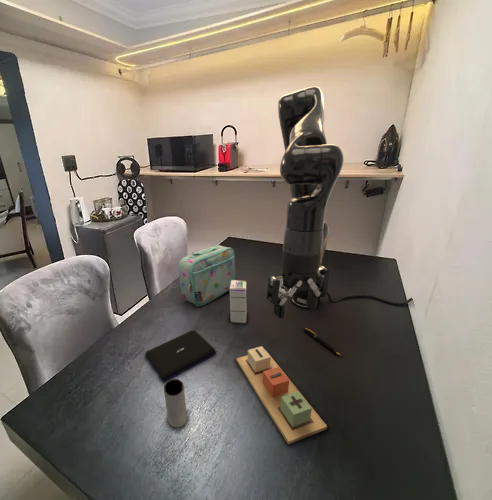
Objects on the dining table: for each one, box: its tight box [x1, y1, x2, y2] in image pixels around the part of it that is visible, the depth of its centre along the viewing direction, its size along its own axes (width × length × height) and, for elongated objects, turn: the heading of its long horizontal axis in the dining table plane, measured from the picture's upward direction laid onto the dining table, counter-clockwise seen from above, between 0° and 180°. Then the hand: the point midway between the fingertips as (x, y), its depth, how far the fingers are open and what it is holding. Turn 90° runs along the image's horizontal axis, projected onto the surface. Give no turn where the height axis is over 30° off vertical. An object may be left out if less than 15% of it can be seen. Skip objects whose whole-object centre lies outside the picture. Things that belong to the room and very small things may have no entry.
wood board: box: [235, 349, 328, 445], centre depth 68 cm, size 10×25×1 cm, turn 17°
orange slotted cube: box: [263, 366, 290, 397], centre depth 67 cm, size 5×5×4 cm
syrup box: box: [229, 279, 248, 324], centre depth 95 cm, size 6×6×14 cm
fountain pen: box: [303, 327, 341, 356], centre depth 83 cm, size 14×1×2 cm, turn 24°
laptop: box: [145, 329, 217, 382], centre depth 82 cm, size 16×20×2 cm
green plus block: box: [280, 390, 313, 427], centre depth 60 cm, size 5×5×4 cm
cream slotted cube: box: [247, 345, 272, 372], centre depth 74 cm, size 5×5×4 cm
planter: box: [163, 378, 188, 429], centre depth 61 cm, size 4×4×10 cm
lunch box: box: [177, 244, 237, 307], centre depth 110 cm, size 27×10×21 cm, turn 131°
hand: (295, 312), depth 61 cm, fingers open, 8 cm apart
